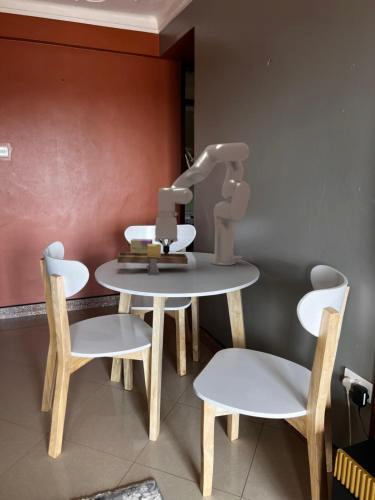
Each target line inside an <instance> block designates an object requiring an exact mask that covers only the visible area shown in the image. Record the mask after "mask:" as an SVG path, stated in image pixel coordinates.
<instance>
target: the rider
mask: <svg viewBox="0 0 375 500" xmlns="http://www.w3.org/2000/svg"><path fill="white" fill-rule="evenodd" d="M161 253H162V244H161V243H160V244H159V243H158V244H156V243H154V244H153V243H152V244H148V251H147V257H161Z"/></svg>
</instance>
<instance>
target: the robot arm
mask: <svg viewBox="0 0 375 500" xmlns="http://www.w3.org/2000/svg"><path fill="white" fill-rule="evenodd" d="M250 151H251V150H250V147H249V145H248V144H246V143H245V142H231V143H217V144H210V145H208V146H206V147H205V149H204V150H203V151H202V152H201V154H200V155H199V156H198V157H197V159H196V160H195V161H194V163H193V165H191V167H189V168H188V169H187V170H185V171H184V172H183V173H182V174H181V175H180V176H179V177H177V179H175V181H174V182H172V185H171V186H170V187H160V188H159V189H158V193H157V194H158V195H157V196H158V197H157V199H158V204H157V207H158V210H157V211H158V213H157V216H158V217H156V218H155V219H156V220H155V230H154V231H155V233H154V234H155V235H154V236H155V238H154V241H155V242H157V243H160V245H161V246H162V253H164V254H168V253H171V252H170V249H171V248H170V246H171V245H172V244H173V243H176V242H178V240H179V239H178V223H177V218H176V216H178V215H179V213H178V211H177V212H176V210H175V209H176V207H175V205H176V204H180V205H185V204H186V205H187V204H189V203H190V202H191V201H192V199H193V197H194V196H193V195H194V194H193V192H192V190H191V189H190V187H191V186H193V185H195V184H197V183H199V182H201V181H203V180H205V179H206V178H207V177H208V176H209V174H210V173H211V171H212V170H213V169H214V167H215V166H216V164H218V163H225V167H226V173H225V176H224V177H225V178H224V181H223V184H222V187H221V195H222V197H223V198H224V199H226V200H230V201H220V202H217V204H215V206H214V208H213V217H214V229H215V230H214V257H213V259H211V261H210V262H211V264H212V265H216V266H233V264H234V265H236V262H237V260H238V261H239V260H243V256H242V255H235V254H234V241H235V240H234V236H235V235H234V233H235V228H234V223H239V222H240V221H242V220H243V219H244V217H245V214H246V211H247V207H248V204H249V200H250V196H251V188H250V185H249V184H248V183H247V181H244V180H243V176H244V166H243V162H242V161H245V160H246V159H248V157H249V156H250ZM165 240H167V244H166V241H165Z"/></svg>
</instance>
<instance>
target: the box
mask: <svg viewBox="0 0 375 500" xmlns="http://www.w3.org/2000/svg"><path fill="white" fill-rule="evenodd" d="M148 244H153V239H147V238H132V239H130V253H147V251H148Z"/></svg>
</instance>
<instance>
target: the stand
mask: <svg viewBox="0 0 375 500" xmlns="http://www.w3.org/2000/svg"><path fill="white" fill-rule="evenodd" d="M146 269H147V270H146V271H147V276H159V275H160V272H159V267H158V263H157V259H156V258H150V263H148V264H147V265H146Z"/></svg>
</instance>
